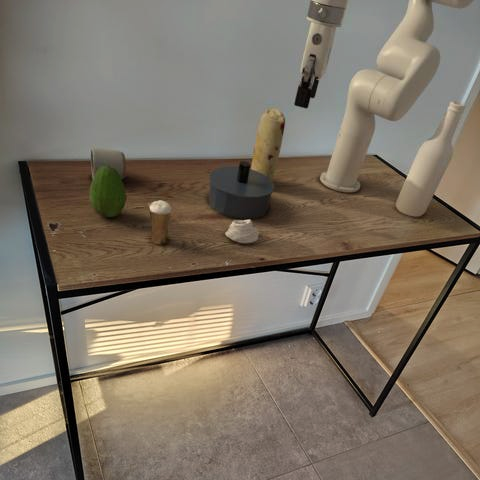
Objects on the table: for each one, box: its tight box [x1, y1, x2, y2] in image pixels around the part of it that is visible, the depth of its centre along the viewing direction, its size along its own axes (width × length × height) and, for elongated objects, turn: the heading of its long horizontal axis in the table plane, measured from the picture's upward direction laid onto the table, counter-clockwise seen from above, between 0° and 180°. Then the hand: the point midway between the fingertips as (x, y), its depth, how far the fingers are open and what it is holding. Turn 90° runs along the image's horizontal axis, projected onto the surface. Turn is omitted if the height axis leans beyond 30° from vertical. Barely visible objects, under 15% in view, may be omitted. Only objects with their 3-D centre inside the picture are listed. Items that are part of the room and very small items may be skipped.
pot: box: [208, 181, 272, 220], centre depth 114 cm, size 16×16×6 cm
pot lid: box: [209, 160, 275, 199], centre depth 111 cm, size 17×17×6 cm
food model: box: [250, 107, 286, 181], centre depth 121 cm, size 10×7×20 cm
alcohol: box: [395, 100, 467, 218], centre depth 120 cm, size 9×9×30 cm
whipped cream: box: [224, 219, 260, 245], centre depth 103 cm, size 8×7×5 cm
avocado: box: [89, 165, 128, 218], centre depth 98 cm, size 8×8×12 cm
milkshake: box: [145, 196, 172, 245], centre depth 94 cm, size 4×5×10 cm
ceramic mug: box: [90, 147, 127, 181], centre depth 113 cm, size 11×8×8 cm
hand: (304, 101), depth 103 cm, fingers open, 9 cm apart
